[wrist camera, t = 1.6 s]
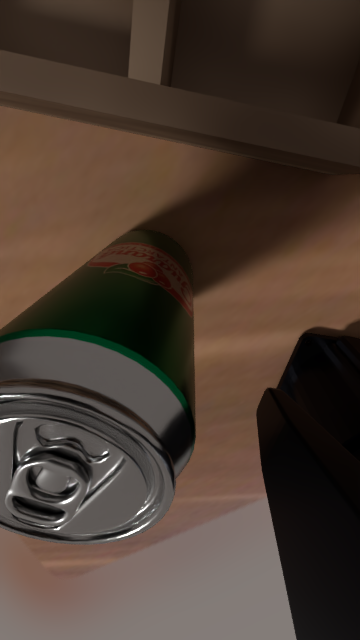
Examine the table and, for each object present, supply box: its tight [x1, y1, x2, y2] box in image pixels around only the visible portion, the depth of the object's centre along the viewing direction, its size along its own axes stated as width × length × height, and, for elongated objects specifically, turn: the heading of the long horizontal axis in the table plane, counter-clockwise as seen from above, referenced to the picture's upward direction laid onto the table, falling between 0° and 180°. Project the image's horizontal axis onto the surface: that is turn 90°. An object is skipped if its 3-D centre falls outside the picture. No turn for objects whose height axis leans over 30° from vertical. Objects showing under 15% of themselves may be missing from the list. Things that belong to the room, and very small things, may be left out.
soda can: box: [0, 230, 196, 544], centre depth 10 cm, size 5×5×12 cm
